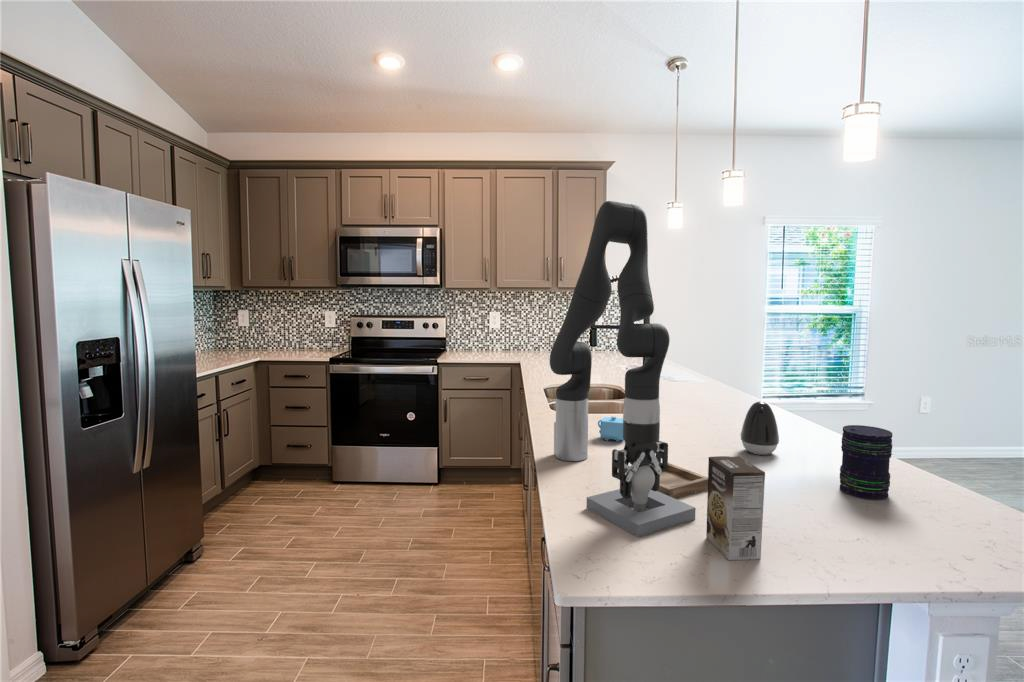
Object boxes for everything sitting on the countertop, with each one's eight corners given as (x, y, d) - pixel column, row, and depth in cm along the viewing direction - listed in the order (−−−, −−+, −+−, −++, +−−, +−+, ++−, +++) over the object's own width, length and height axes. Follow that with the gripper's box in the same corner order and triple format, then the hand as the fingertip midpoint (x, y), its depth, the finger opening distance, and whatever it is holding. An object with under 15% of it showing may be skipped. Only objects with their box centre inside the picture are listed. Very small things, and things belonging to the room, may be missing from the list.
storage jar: (881, 487, 127) (885, 427, 126) (895, 502, 118) (900, 437, 116) (834, 482, 130) (837, 423, 129) (844, 497, 121) (848, 433, 120)
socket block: (586, 508, 115) (586, 497, 115) (640, 494, 123) (640, 483, 123) (638, 537, 102) (638, 524, 101) (695, 519, 110) (695, 507, 109)
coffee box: (704, 537, 101) (707, 456, 100) (736, 536, 102) (739, 455, 101) (727, 561, 92) (730, 472, 91) (762, 559, 93) (766, 471, 91)
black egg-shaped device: (740, 455, 152) (742, 404, 151) (739, 445, 162) (741, 397, 160) (779, 459, 148) (782, 406, 147) (776, 449, 158) (778, 399, 157)
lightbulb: (655, 520, 109) (656, 469, 108) (625, 518, 110) (625, 467, 109) (653, 509, 115) (654, 460, 114) (624, 506, 116) (625, 458, 115)
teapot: (636, 439, 170) (636, 416, 169) (633, 444, 164) (634, 420, 163) (599, 435, 174) (599, 413, 173) (595, 440, 168) (595, 417, 168)
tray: (626, 481, 132) (626, 471, 131) (666, 471, 139) (666, 462, 138) (669, 500, 120) (669, 489, 119) (710, 488, 127) (710, 478, 126)
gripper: (653, 410, 117) (651, 482, 119) (603, 418, 110) (602, 494, 112) (679, 417, 111) (677, 492, 112) (628, 426, 104) (626, 506, 105)
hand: (639, 493), depth 112 cm, fingers open, 7 cm apart
